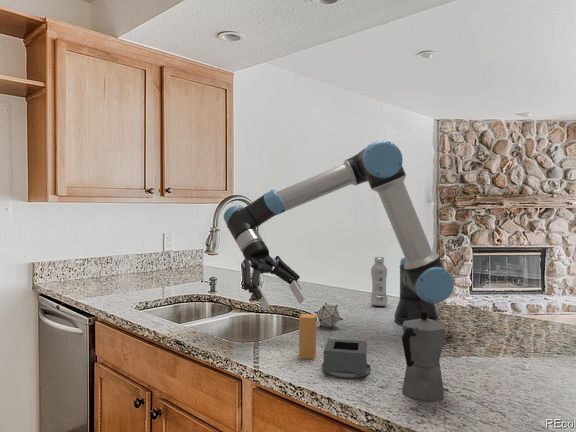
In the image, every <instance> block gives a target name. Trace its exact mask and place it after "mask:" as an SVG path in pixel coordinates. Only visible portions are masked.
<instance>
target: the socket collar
mask: <svg viewBox="0 0 576 432" xmlns="http://www.w3.org/2000/svg"><path fill="white" fill-rule="evenodd" d="M321 370H322V372H323V373H324V374H326V375H328V376H329V377H332V378H336V379H341V378H342V380H356V379H362V378H366V377H367V376H369V375H370V374H371V365H370V363H368V341H367V340H356V339H355V340H354V339H352V340H351V339H339V338H338V339H337V338H327V341H326V345H325V346H324V349H323V362H322V363H321Z"/></svg>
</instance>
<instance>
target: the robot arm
mask: <svg viewBox="0 0 576 432" xmlns="http://www.w3.org/2000/svg"><path fill="white" fill-rule="evenodd" d="M403 160H404V159H403V154H402V151H401V150H400V148H399V147H398V145H396V144H395V143H394V142H391V141H389V140H376V141H373V142H371V143H369V144H368V145H367V146H366V147H365V148H363V149H362V150H361V151H360V152H357V154H355V155H353V156H351V157H349V158H346V159H345V160H344V161H343V163H342V164H340V165H337V166H335V167H333V168H330V169H328V170H326V171H323V172H321V173H317V174H316V175H313V176H312V177H309V178H307V179H304V180H302V181H300V182H297V183H294V184H293V185H289V186H287V187H285V188H283V189H280V190H278V191H277V190H276V189H270V190H269V191H267V192H266V193H263V194H262V195H261V196H259V197H258V198H257V199H255V200H254V201H253V202H250V203H249V204H248V205H246V206H242V205H241V204H235V205H234V206H232V205H231V206H229V207H228V208H227V209H226V210H225V211H224V214H223V221H224V222H225V224H226V226H227V227H226V228H227V229H228V231H229V232H230V233H231V236H232V238H233V240H234V241H235V243H236V244H237V246H238V248H239V250H240V252H241V253H242V255H243V257H244V259H243V260H242V262H241V264H240V265H241V269H242V281H243V282H242V283H243V284H242V286H243V290H244V291H248V292H249V294H253V296H254V297H255V298H254V299H255V300H257V302H259V305H260V306H261V308H262V310H263V312H264V311H265V312H266V311H267V310H268V309H269V307H270V306H271V302H270V301H269V299H268V297H267V296H266V294H265V292H264V290H263V288H262V287H261V285H258V284H259V280H260V275H261V274H262V275H263V274H269V273H270V274H271V275H275V276H276V277H278V278H280V279H281V280H283V281H284V282H286V283H287V284H288V287H289V289H290V291H291V292H292V293H293V296H294V297H295V299H296V300H297V302H298V304H299V305H301V304H302V303H303V302H304V301H305V299H306V296H305V295H304V293H303V291H302V287H301V286H300V284H299V283H298V281H299V279H300V275H299V274H298V273H297V272H296V271H294V270H293V269H292V268H291V267H290V266H289V265H288V264H286V263H285V262H284V261H283V260H282V259H281V257H280V256H279V255H276V256H275V257H271V256H270V251H269V248H268V247H267V245H266V243H265V242H264V240H263V238H262V236H261V234H260V233H259V232H258V230H257V228H259V226H261V225H262V224H264V223H266V222H267V221H269V220H271V219H272V218H274V217H275V216H278V215H281V214H283V213H284V212H287V211H290V210H293V209H294V208H297V207H299V206H302V205H304V204H306V203H309V202H312V201H314V200H317V199H319V198H321V197H324V196H326V195H329V194H331V193H333V192H334V193H335V192H336V191H338V190H341V189H343V188H346V187H348V186H350V185H352V186H358V185H360V184H364V183H367V182H368V184H369V187H370V189H371V190H372V191H374V192H376V193H377V194H378V196H379V198H380V201H381V203H382V206H383V208H384V210H385V214H386V215H387V217H388V220H389V222H390V225H391V228H392V230H393V232H394V235H395V237H396V240H397V241H398V244H399V246H400V249H401V251H402V254H403V257H402V258H401V259H400V261H399V262H400V264H399V301H398V304H397V307H396V310H395V312H394V322H395V323H396V324H397V325H398V324H399V325H401V326H403V323H404V321H408V320H416V319H421V314H420V312H421V311H426V312H428V314H427V319H428V318H429V319H432V320H435V321H440V317H439V313H438V309H437V307H436V306H437V305H436V304H439V303H443V302H445V301H446V300H447V299H448V298H449V297H450V296H451V295H452V292H453V291H454V288H455V282H454V281H455V280H454V278H453V276H452V274H451V273H450V272H449V270H448V269H446V268H445V266H444V264H443V262H442V261H443V260H441V256H440V254H439V253H436V252H434V251H433V250H432V248H431V246H430V243H429V240H428V238H427V236H426V233H425V231H424V229H423V226H422V223H421V221H420V218H419V216H418V213H417V212H416V209H415V207H414V204H413V201H412V199H411V196H410V195H409V192H408V190H407V187H406V184H405V179H406V177H407V174H406V172H405V169H404V167H403ZM251 269H253V274H252V273H251V272H252V271H251ZM251 274H252V275H251ZM251 276H252V277H251Z"/></svg>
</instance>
